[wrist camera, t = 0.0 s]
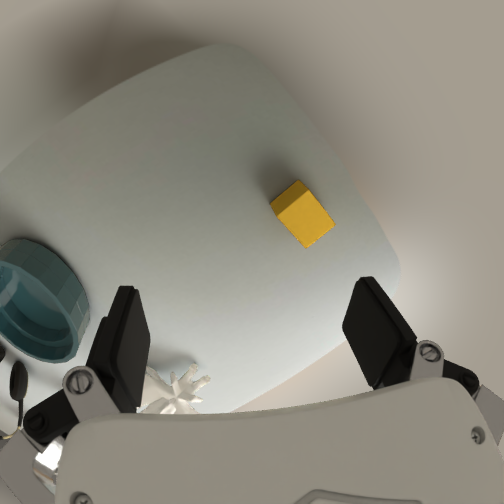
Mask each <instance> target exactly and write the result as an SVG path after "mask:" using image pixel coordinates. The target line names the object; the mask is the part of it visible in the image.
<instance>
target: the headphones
mask: <svg viewBox="0 0 504 504" xmlns="http://www.w3.org/2000/svg"><path fill="white" fill-rule="evenodd" d="M4 357H5V350H4V349H3V347H2V346H0V362H1V361H2V360H3V358H4ZM27 388H28V372H27V370H26V368H25V366H24V365H23V364H22V363H20V362H15V363H14V365H13V367H12V371H11V376H10V396H11V397H12V399H14V400H16V401H19V420H18V428H17V430H18V429H20V427H21V424H22V419H23V398H25V396H26V393H27ZM17 430H16V431H17ZM16 431H15V432H16ZM15 432H14V433H15ZM14 433H13V434H11V435H9V436H5V437H2V436H0V440H3V439H6V438H10V437H12V436H13V435H14Z"/></svg>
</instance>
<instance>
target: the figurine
mask: <svg viewBox="0 0 504 504" xmlns="http://www.w3.org/2000/svg"><path fill="white" fill-rule="evenodd" d="M197 367H198V366H197V365H196V364H195V363H194V364H192V365H190V368H189V370H188V371H187V372H186V373H185V374H184V375H183V376H182V377H181V378H180V379H179V380H178V379H177V377H176V375H175V374H174V372H172V373H171V384H172V386H169V385H168V384H167V383H166V382H165V381H164V380H163V379H161V378H160V377H159V375H158V373H157V372H156V371H155V370H154V369H152V368H150V367H148V366H147V365H146V371H147V373H148V374H149V375H150V376H149V375H147V374H145V379H144V386H143V393H142V401H141V406H144V405H147V404H149V403H150V404H149V405H148V407H147V408H146V409H144V410H143V411H141V412H140V413H150V414H200V413H198V412H197V411H195V409H194V408H193V407H191V406H190V405H189V403H188V401H189V402H202V401H203V400H202V399H201V398H199V397H197V396H195V395H193V394H194V393H195V392H196V391H197V390H198V389H200V388H201V387H202V386H203V385H205V384H208V383H209V382H210V377H209V376H208V375H207V376H203V377H202V378H201V379H199V380H197V381H196V382H192V381H191V378H192V377H193V375H194V374H195V373H196V372H197ZM141 406H140V407H141ZM140 407H137V409H138V408H140Z"/></svg>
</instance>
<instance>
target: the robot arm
mask: <svg viewBox="0 0 504 504" xmlns="http://www.w3.org/2000/svg"><path fill="white" fill-rule="evenodd" d="M342 329H343V332H344V334H345V336H346V338H347V340H348V342H349V344H350V346H351V349H352V350H353V353H354V355H355V357H356V359H357V361H358V363H359V365H360V367H361V370H362V372H363V374H364V376H365V378H366V380H367V382H368V385H369V386H372V388H373V389H374V390H373V391H369V392H365V393H361V394H357V395H353V396H349V397H344V398H339V399H335V400H330V401H324V402H319V403H313V404H307V405H301V406H295V407H288V408H280V409H271V410H262V411H251V412H240V413H239V412H238V413H220V414H150V413H136V410H137V407H140V406H141V401H142V393H143V386H144V379H145V372H146V365H147V359H148V353H149V347H150V333H149V329H148V326H147V322H146V318H145V315H144V311H143V307H142V303H141V299H140V295H139V291H138V289H134V287H133V286H119V288H118V291H117V293H116V296H115V298H114V301H113V303H112V306H111V309H110V311H109V314H108V317H103V318H102V320H101V322H100V325H99V328H98V330H97V333H96V336H95V339H94V341H93V344H92V347H91V350H90V353H89V356H88V359H87V362H86V366H77V367H74V368H72V369H70V370H69V371H68V372H67V373H66V374H65V376H64V378H63V383H62V386H63V389H61V390H60V391H58V392H57V393H55V394H53V395H52V396H50V397H49V398H47V399H45V400H44V401H42V402H40V403H39V404H37V405H36V406H34V407H32V408H31V409H30V410H28V411H27V413H26V414H25V416H24V419H23V427H24V428H23V429H22V430H19V429H18V430H17V431H16V432H15V433H14V435H13V436H12V437H11V438H10V439H9V440H8V442H7V443H6V444H5V445H4V447H3V448H2V449H1V450H0V477H1V479H2V480H3V481H4V482H5V484H6V485H7V486H8V488H9V489H10V490H11V491H12V493H13V494H14V495H15V496H16V497H17V499H18V500H19V501H20V502H21V503H22V504H504V462H503V459H502V456H501V454H500V451H499V449H498V444H499V442H500V439H501V437H502V434H503V432H504V401H503V400H502V399H501V398H499V397H498V396H497V395H495V394H494V393H493V392H491V391H490V390H489V389H488V388H486V387H485V386H484V385H481V386H479V380H478V377H477V376H476V374H475V373H473V372H472V371H471V370H469V369H466V368H464V367H462V366H459V365H457V364H454V363H452V362H450V361H447V360H445V359H444V353H443V351H442V349H441V348H440V346H439V345H437V344H436V343H434V342H432V341H429V340H423V341H420V342H419V343H417V341H416V339H417V337H416V335H415V334H414V332H413V331H412V329H411V328H410V326H409V325H408V323H407V322H406V321H405V319H404V318H403V316H402V315H401V313H400V312H399V311H398V309H397V308H396V307H395V305H394V304H393V302H392V301H391V300H390V298H389V297H388V296H387V294H386V293H385V292H384V290H383V289H382V288H381V286H380V285H379V284H378V282H377V281H376V280H375V278H374V277H372V276H370V277H361V278H360V279H359V281H356V283H355V286H354V290H353V293H352V296H351V299H350V303H349V306H348V309H347V312H346V315H345V318H344V321H343V324H342ZM59 460H60V461H59ZM58 461H59V465H57V463H58ZM57 467H58V472H57V479H56V486H55V485H54V482H53V473H54V471H55V469H56V468H57Z"/></svg>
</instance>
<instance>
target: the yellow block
mask: <svg viewBox="0 0 504 504" xmlns="http://www.w3.org/2000/svg"><path fill="white" fill-rule="evenodd" d="M270 205H271V207H272V209H273V211H274V213H275V215H276V217H277V218H278V219H279V220H280V221H281V222H282V223H283V224H284V225H285V226H286V228H287V229H288V230H289V231H290V232H291V233H292V234H293V235H294V236H295V237H296V239H297V240H298V241H299V242H300V243H301V244H302V245H303V246H304V247H305V248H308V247H309V246H310V245H311V244H313V243H314V242H315V241H316V240H318V239H319V238H320V237H321V236H323V235H324V234H325V233H326V232H328V231H329V230H330V229H331V228H333V227H334V226H335V225H336V224H335V223H334V221H333V220H332V219H331V217H330V216H329V215H328V213H327V212H326V211H325V209H324V208H323V207H322V205H321V204H320V203H319V202H318V200H317V199H316V198H315V197H314V195H313V194H312V193H311V191H310V190H309V189H308V188H307V187H306V186H305V185H304V184H303V183H302V182H301V181H300V180H297V181H296V182H295V183H294V184H293V185H291V186H290V187H289V188H288V189H287V190H285V191H284V192H283V193H282V194H281V195H279V196H278V197H277V198H276V199H275V200H273V201H272V202H271V203H270Z"/></svg>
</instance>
